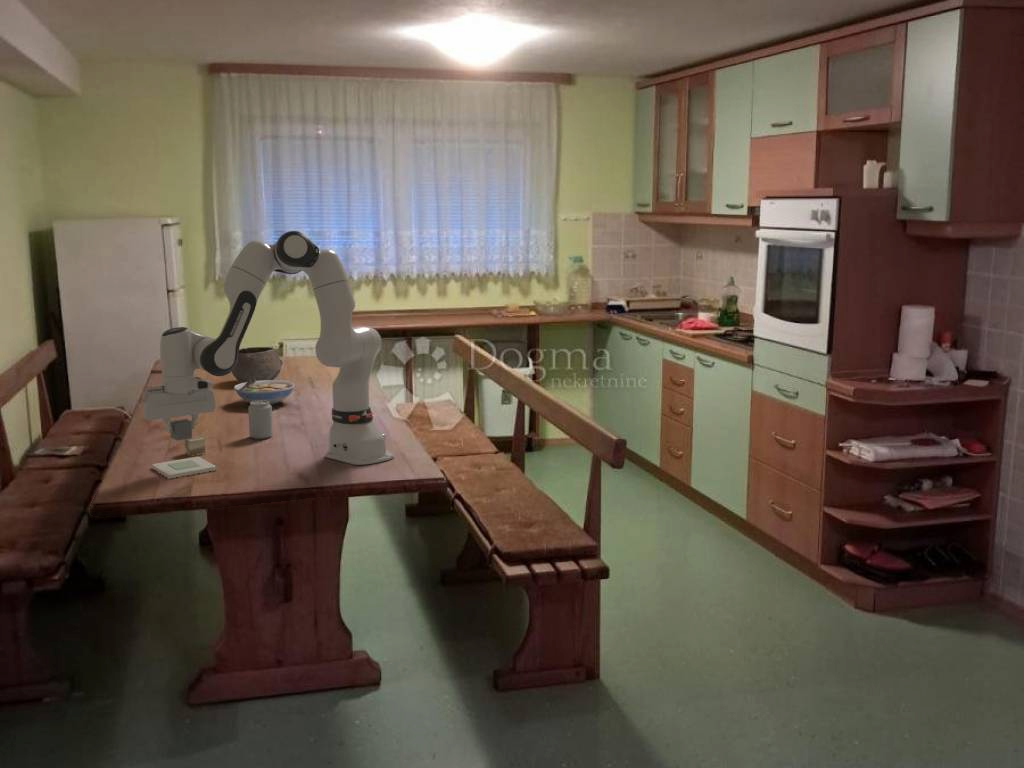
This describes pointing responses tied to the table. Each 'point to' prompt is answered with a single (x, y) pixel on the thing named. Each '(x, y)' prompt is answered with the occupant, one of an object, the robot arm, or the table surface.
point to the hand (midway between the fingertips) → (181, 430)
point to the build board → (184, 467)
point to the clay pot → (257, 364)
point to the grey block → (181, 429)
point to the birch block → (194, 445)
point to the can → (260, 419)
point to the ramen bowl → (264, 390)
